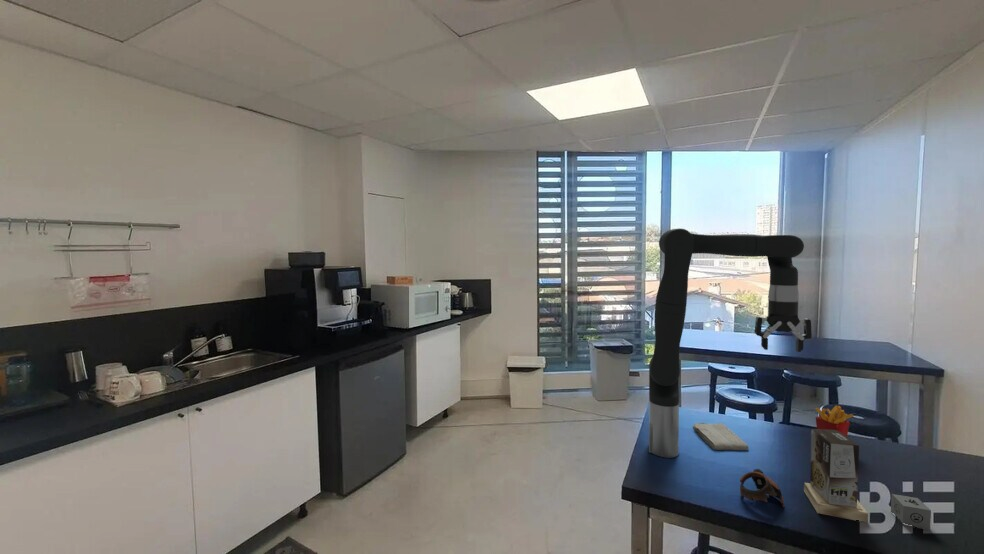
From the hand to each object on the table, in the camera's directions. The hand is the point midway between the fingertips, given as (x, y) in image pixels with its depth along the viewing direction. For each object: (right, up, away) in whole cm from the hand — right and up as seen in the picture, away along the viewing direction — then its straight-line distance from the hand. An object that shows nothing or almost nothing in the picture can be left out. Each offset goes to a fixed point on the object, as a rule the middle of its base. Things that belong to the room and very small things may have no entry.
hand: (781, 350), depth 123 cm
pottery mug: (-18, -38, -16) cm, 45 cm away
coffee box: (-1, -35, -20) cm, 40 cm away
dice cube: (+13, -38, -26) cm, 48 cm away
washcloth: (-9, -36, +18) cm, 41 cm away
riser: (-1, -37, -20) cm, 42 cm away
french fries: (+25, -35, +9) cm, 44 cm away
